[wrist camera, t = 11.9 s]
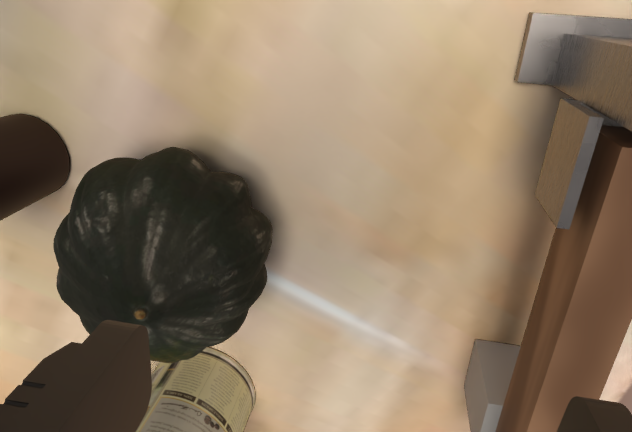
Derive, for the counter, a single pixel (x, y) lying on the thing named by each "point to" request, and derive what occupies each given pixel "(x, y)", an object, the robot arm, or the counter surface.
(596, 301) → the rail
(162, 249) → the squash
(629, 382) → the counter surface
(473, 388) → the rest block
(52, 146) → the bottle
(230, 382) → the coffee can
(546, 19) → the bracket
